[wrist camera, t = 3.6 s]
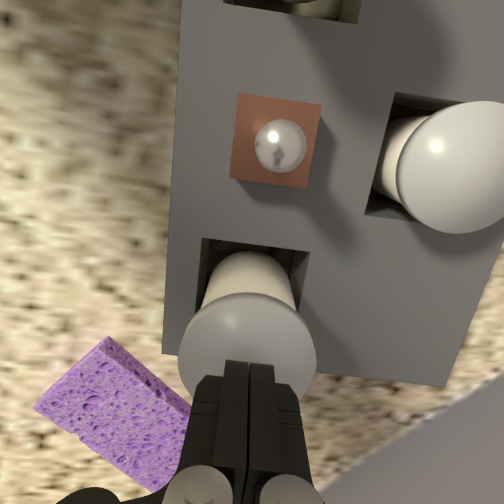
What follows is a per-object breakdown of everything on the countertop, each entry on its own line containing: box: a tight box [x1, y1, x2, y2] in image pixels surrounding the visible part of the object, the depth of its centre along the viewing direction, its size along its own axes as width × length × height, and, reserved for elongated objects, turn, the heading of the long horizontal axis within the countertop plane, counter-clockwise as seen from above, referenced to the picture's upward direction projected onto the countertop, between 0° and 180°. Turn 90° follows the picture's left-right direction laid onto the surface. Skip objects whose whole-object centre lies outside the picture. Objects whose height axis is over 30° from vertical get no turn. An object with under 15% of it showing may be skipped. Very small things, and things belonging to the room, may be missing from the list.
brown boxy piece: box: [229, 92, 322, 189], centre depth 12 cm, size 3×3×5 cm
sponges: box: [32, 336, 191, 493], centre depth 24 cm, size 7×13×2 cm, turn 42°
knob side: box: [372, 101, 504, 234], centre depth 15 cm, size 5×5×6 cm
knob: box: [178, 251, 316, 401], centre depth 14 cm, size 5×5×6 cm
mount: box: [161, 0, 504, 387], centre depth 16 cm, size 22×15×4 cm
